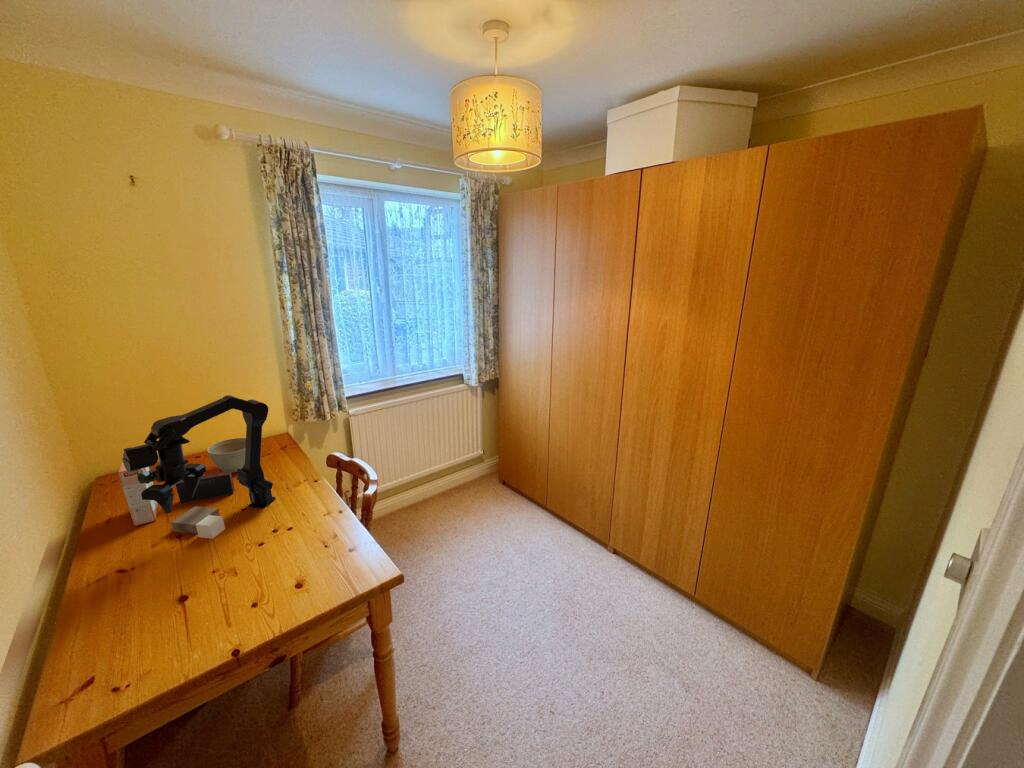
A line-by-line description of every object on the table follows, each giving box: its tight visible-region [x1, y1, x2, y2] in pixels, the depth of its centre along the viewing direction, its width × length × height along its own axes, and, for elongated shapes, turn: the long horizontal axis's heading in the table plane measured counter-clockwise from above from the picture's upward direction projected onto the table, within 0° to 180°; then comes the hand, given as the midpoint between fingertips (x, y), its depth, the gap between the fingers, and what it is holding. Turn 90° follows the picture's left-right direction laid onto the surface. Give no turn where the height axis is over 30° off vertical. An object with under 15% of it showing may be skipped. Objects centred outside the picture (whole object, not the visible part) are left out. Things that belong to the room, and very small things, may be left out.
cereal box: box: [118, 460, 159, 527], centre depth 138 cm, size 14×6×21 cm, turn 37°
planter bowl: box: [206, 437, 246, 474], centre depth 171 cm, size 16×16×11 cm
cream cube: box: [196, 515, 226, 540], centre depth 131 cm, size 5×5×5 cm
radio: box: [175, 456, 236, 504], centre depth 149 cm, size 19×3×15 cm, turn 114°
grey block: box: [170, 506, 221, 535], centre depth 135 cm, size 9×9×4 cm
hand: (180, 504), depth 126 cm, fingers open, 9 cm apart
